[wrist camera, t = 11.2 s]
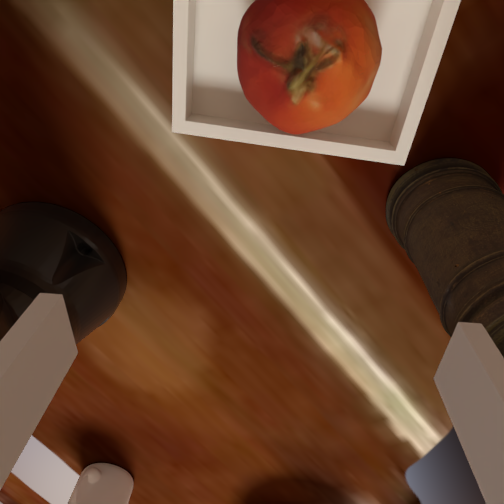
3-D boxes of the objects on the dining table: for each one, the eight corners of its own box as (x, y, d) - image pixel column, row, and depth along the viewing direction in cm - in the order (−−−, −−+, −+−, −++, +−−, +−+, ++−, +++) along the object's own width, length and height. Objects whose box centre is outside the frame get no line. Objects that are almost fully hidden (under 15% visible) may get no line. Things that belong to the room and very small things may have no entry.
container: (373, 177, 34) (439, 317, 19) (486, 138, 32) (665, 264, 16) (397, 259, 38) (466, 428, 23) (498, 230, 36) (650, 398, 21)
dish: (181, 122, 33) (172, 131, 30) (186, -99, 25) (174, -110, 23) (395, 153, 33) (404, 165, 30) (464, -60, 25) (483, -66, 23)
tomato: (389, 75, 29) (419, 97, 22) (282, 140, 32) (279, 176, 26) (333, -57, 25) (348, -79, 19) (217, 30, 29) (194, 39, 22)
